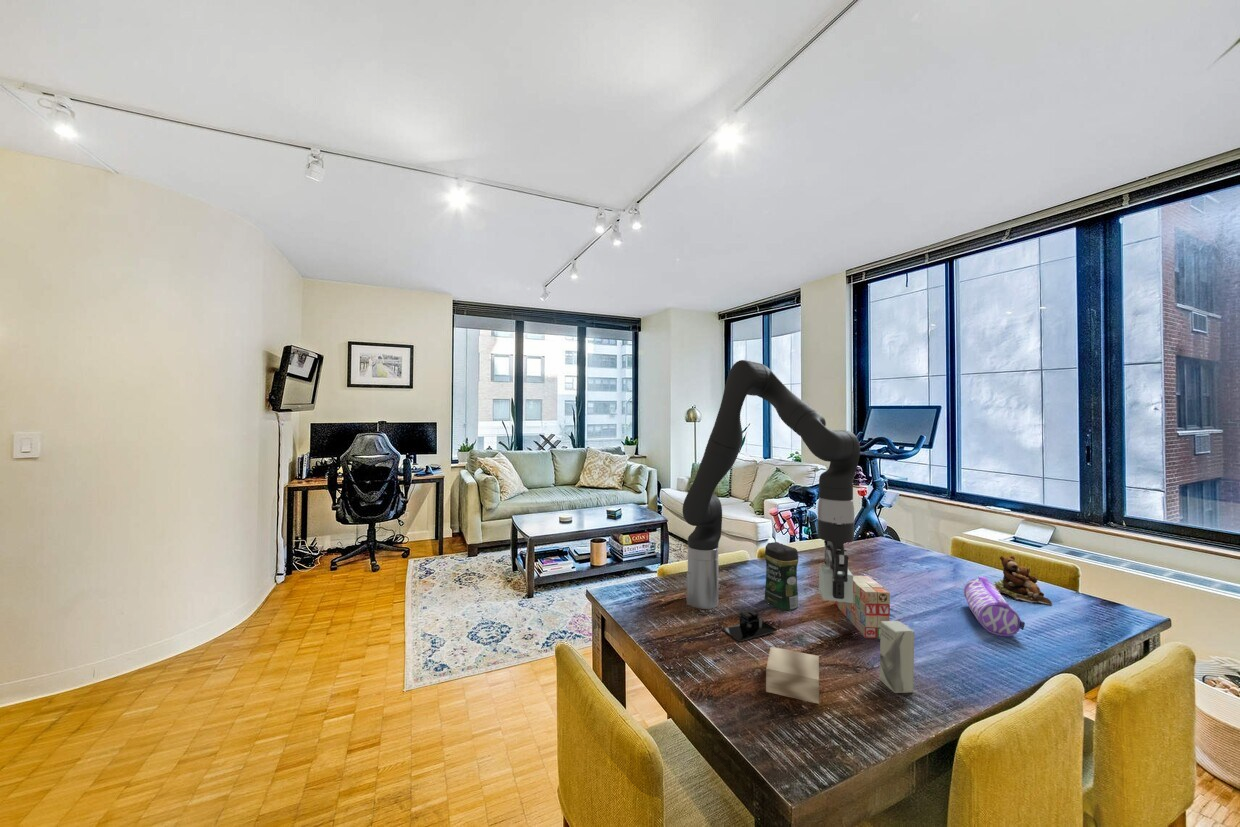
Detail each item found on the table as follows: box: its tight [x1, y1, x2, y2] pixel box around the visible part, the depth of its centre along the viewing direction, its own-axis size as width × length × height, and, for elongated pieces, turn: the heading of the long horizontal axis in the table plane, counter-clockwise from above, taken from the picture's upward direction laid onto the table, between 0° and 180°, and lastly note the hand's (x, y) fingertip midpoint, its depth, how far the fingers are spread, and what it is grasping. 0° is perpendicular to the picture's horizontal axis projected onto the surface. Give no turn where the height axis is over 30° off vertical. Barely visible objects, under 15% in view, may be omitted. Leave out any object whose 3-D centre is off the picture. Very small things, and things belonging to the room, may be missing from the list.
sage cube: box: [818, 564, 854, 603], centre depth 103 cm, size 6×6×6 cm
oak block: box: [765, 646, 820, 705], centre depth 96 cm, size 10×10×5 cm
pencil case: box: [963, 575, 1026, 637], centre depth 127 cm, size 22×9×10 cm, turn 155°
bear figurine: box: [992, 555, 1053, 606], centre depth 147 cm, size 14×15×12 cm
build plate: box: [722, 609, 778, 642], centre depth 120 cm, size 12×7×5 cm, turn 114°
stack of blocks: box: [834, 575, 891, 640], centre depth 127 cm, size 21×6×12 cm, turn 175°
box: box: [879, 620, 915, 694], centre depth 95 cm, size 5×4×13 cm
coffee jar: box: [764, 541, 799, 611], centre depth 137 cm, size 10×8×19 cm
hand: (835, 592), depth 102 cm, fingers closed on sage cube, 6 cm apart
